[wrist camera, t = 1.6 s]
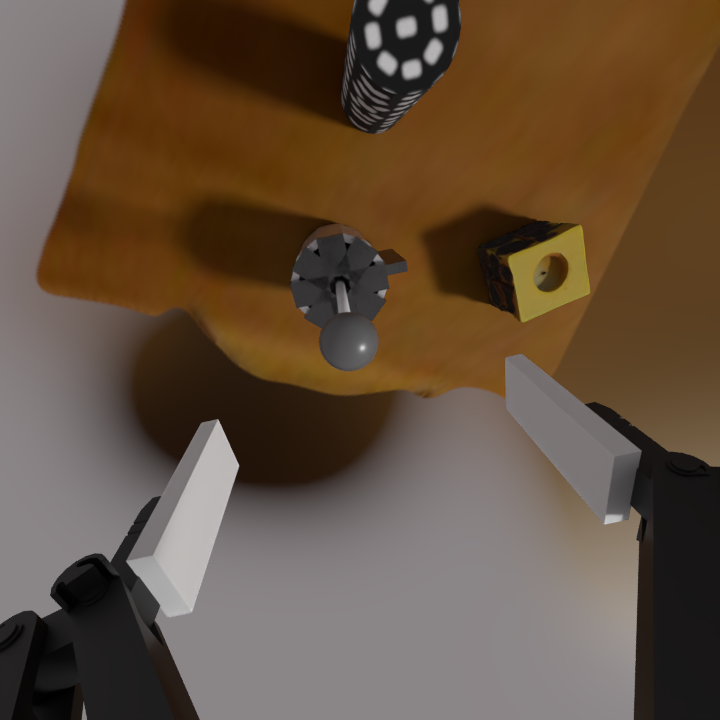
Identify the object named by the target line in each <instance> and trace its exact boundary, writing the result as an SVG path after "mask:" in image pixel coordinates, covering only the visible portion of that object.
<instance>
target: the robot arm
mask: <svg viewBox="0 0 720 720" xmlns="http://www.w3.org/2000/svg"><path fill="white" fill-rule="evenodd" d="M505 373H506V409H507V410H508V411H509V412H510V414H511V415H512V416H513V417H514V418H515V419H516V421H517V422H518V423H519V424H520V425H521V427H522V428H523V429H524V430H525V431H526V433H527V434H528V435H529V436H530V437H531V438H532V439H533V441H534V442H535V443H536V444H537V445H538V447H539V448H540V449H541V450H542V451H543V453H544V454H545V455H546V456H547V457H548V459H549V460H550V461H551V462H552V463H553V464H554V465H555V467H556V468H557V469H558V470H559V472H560V473H561V474H562V475H563V476H564V478H565V479H566V480H567V481H568V482H569V483H570V485H571V486H572V487H573V488H574V489H575V491H576V492H577V493H578V494H579V495H580V496H581V497H582V499H583V500H584V501H585V502H586V503H587V505H588V506H589V507H590V508H591V509H592V511H593V512H594V513H595V514H596V515H597V517H598V518H599V519H600V520H601V521H602V523H603V524H609V523H614V522H618V521H623V520H628V518H629V514H630V509H631V506H632V507H634V509H635V510H636V511H637V512H638V513H639V514H640V515H641V520H640V525H639V530H638V534H637V540H638V541H639V569H638V570H639V571H638V600H637V601H638V602H637V633H636V634H637V635H636V665H635V698H634V700H635V701H634V720H720V467H710V466H709V465H708V464H707V463H705V462H704V461H702V460H700V459H698V458H696V457H694V456H691V455H687V454H684V453H677V452H668V451H667V450H665V449H664V448H663V447H661V446H660V445H659V444H657V443H656V442H655V441H653V440H652V439H651V438H649V437H648V436H647V435H645V434H644V433H643V432H641V431H640V430H639V429H637V428H636V427H635V426H632V424H631V423H629V422H628V421H627V420H625V419H623V418H622V417H621V416H620V415H619V414H617V413H616V412H615V411H613V410H612V409H610V408H608V407H606V406H603V405H601V404H599V403H596V402H593V403H589V404H583V403H582V402H581V401H579V400H578V399H577V398H576V397H575V396H573V395H572V394H571V393H570V392H568V391H567V390H566V389H565V388H563V387H562V386H561V385H560V384H558V383H557V382H556V381H555V380H554V379H552V378H551V377H550V376H549V375H547V374H546V373H545V372H544V371H543V370H541V369H540V368H539V367H538V366H536V365H535V364H534V363H533V362H531V361H530V360H529V359H528V358H526V357H525V356H524V355H523V354H519V355H514V356H510V357H505ZM238 467H239V465H238V463H237V460H236V458H235V456H234V454H233V451H232V449H231V447H230V445H229V443H228V440H227V438H226V436H225V434H224V432H223V429H222V427H221V425H220V422H219V420H213V421H208V422H203V423H201V425H200V426H199V428H198V430H197V432H196V434H195V436H194V438H193V439H192V441H191V443H190V445H189V447H188V448H187V450H186V452H185V454H184V456H183V458H182V459H181V461H180V463H179V465H178V467H177V469H176V470H175V472H174V474H173V476H172V478H171V480H170V481H169V483H168V485H167V487H166V489H165V491H164V493H163V494H162V496H159V497H154V498H152V499H151V501H149V502H148V504H146V506H145V507H144V508H143V509H142V510H141V511H140V513H139V515H138V516H137V518H136V520H135V522H134V525H132V526H131V528H130V530H129V532H128V536H126V537H125V538H124V540H123V542H122V544H121V545H120V547H119V549H118V550H117V552H116V554H115V555H114V557H113V559H112V561H111V562H109V561H108V560H107V559H106V557H105V556H104V555H103V554H92V555H88V556H85V557H84V558H82V559H80V560H78V561H76V562H75V563H73V564H72V565H71V566H70V567H68V568H67V569H66V570H65V571H64V572H63V573H62V574H61V575H60V576H59V577H58V578H57V580H56V581H55V583H54V585H53V587H52V589H51V594H50V596H51V597H52V598H53V599H54V600H55V601H56V602H57V603H58V604H59V605H60V606H61V607H62V609H60V610H58V611H56V612H54V613H52V614H50V615H48V616H46V617H44V618H42V619H41V618H40V617H39V616H38V615H37V614H36V613H35V612H33V611H23V612H21V613H19V614H16V615H14V616H12V617H11V618H9V619H8V620H6V621H5V622H3V623H2V624H0V720H82V710H83V702H84V705H85V709H86V715H87V720H200V719H199V717H198V715H197V712H196V710H195V708H194V706H193V703H192V701H191V699H190V696H189V694H188V692H187V690H186V687H185V685H184V683H183V680H182V678H181V676H180V673H179V671H178V669H177V667H176V664H175V662H174V660H173V657H172V655H171V653H170V650H169V648H168V646H167V644H166V642H165V639H164V637H163V635H162V632H161V630H160V628H159V626H158V624H157V623H156V622H155V618H156V615H157V613H158V610H159V608H160V607H161V609H162V610H163V612H164V613H165V614H166V616H167V617H168V618H169V617H173V616H178V615H182V614H187V613H192V611H193V607H194V604H195V601H196V598H197V595H198V592H199V589H200V586H201V582H202V580H203V576H204V573H205V570H206V567H207V564H208V561H209V557H210V555H211V551H212V548H213V545H214V542H215V539H216V536H217V533H218V530H219V526H220V523H221V520H222V517H223V514H224V511H225V508H226V504H227V501H228V498H229V495H230V492H231V489H232V485H233V483H234V480H235V477H236V473H237V470H238Z"/></svg>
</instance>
